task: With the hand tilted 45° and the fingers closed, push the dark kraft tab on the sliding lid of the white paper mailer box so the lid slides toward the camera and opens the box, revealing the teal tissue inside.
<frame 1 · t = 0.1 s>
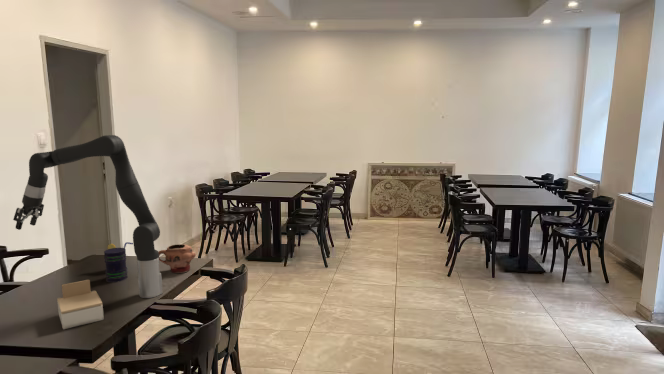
hand: (25, 226, 199), 31 cm above the table, tool tilted 20°, fingers open, 8 cm apart
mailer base: (81, 317, 176), on the table
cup: (121, 269, 235), on the table
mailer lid: (79, 295, 175), point 9 cm above the table, slide at 0.0 cm
decorative planter: (177, 271, 232), on the table
storage jar: (117, 279, 221), on the table
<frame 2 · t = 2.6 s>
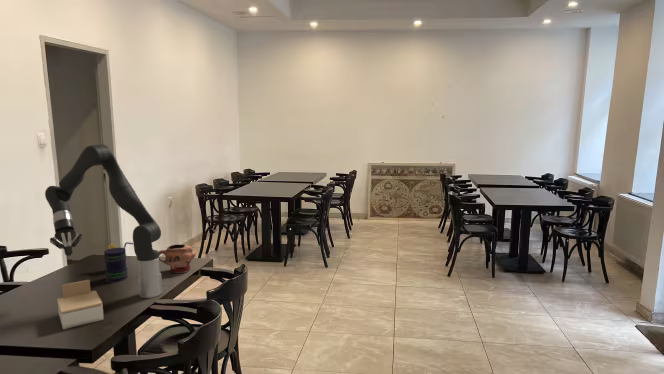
hand: (69, 255, 191), 21 cm above the table, tool tilted 45°, fingers closed
nothing on the table moved.
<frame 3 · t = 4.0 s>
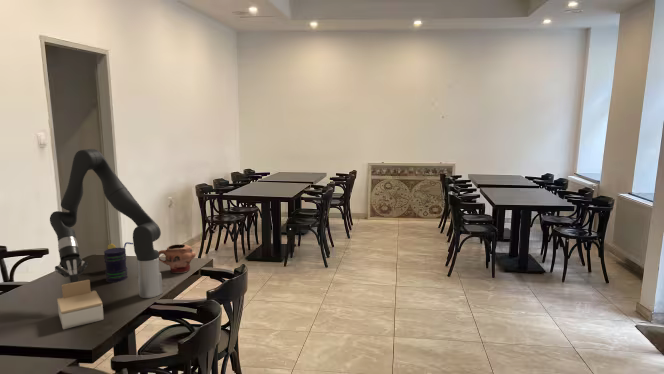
hand: (74, 283, 185), 10 cm above the table, tool tilted 45°, fingers closed
nothing on the table moved.
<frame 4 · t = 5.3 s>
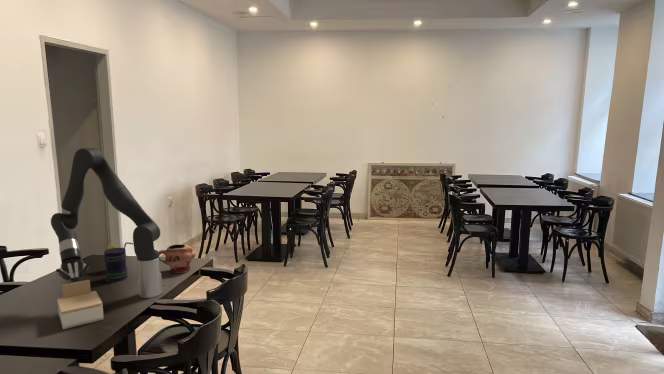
hand: (76, 286, 182), 10 cm above the table, tool tilted 45°, fingers closed
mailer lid: (79, 295, 175), point 9 cm above the table, slide at 0.2 cm, touching gripper
everything else where it was.
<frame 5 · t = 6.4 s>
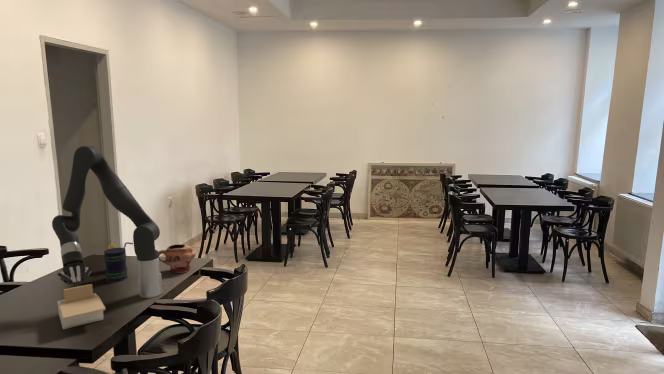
hand: (78, 291, 177), 10 cm above the table, tool tilted 45°, fingers closed
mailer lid: (81, 300, 170), point 9 cm above the table, slide at 6.5 cm, touching gripper
everything else where it was.
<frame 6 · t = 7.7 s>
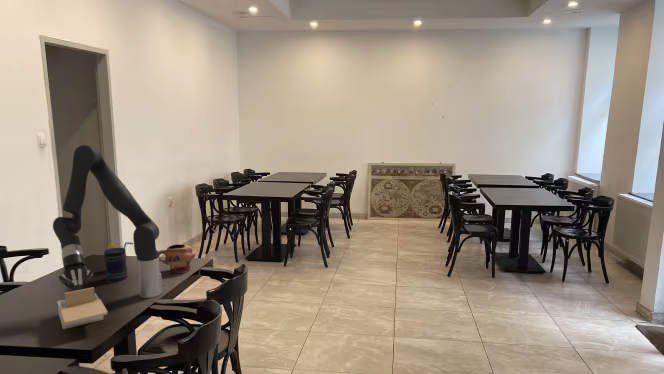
hand: (79, 294, 173), 10 cm above the table, tool tilted 45°, fingers closed
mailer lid: (83, 304, 166), point 9 cm above the table, slide at 11.1 cm, touching gripper
everything else where it was.
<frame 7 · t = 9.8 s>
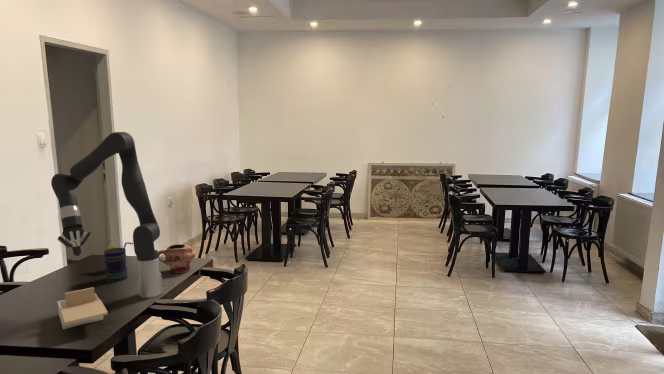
hand: (77, 255, 187), 22 cm above the table, tool tilted 25°, fingers closed
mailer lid: (83, 304, 166), point 9 cm above the table, slide at 11.2 cm
everything else where it was.
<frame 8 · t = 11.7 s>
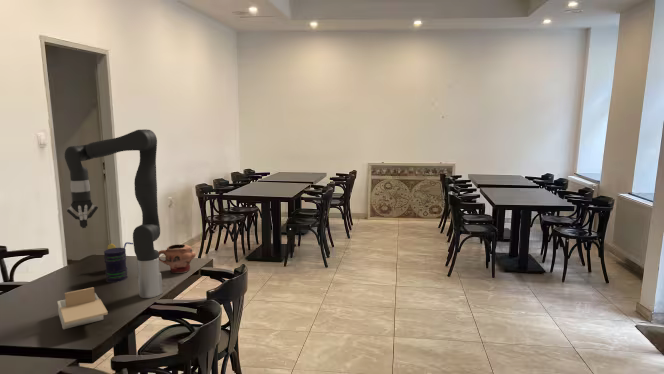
hand: (83, 227, 198), 31 cm above the table, tool pointing down, fingers closed
nothing on the table moved.
at the end: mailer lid slide at 11.2 cm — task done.
